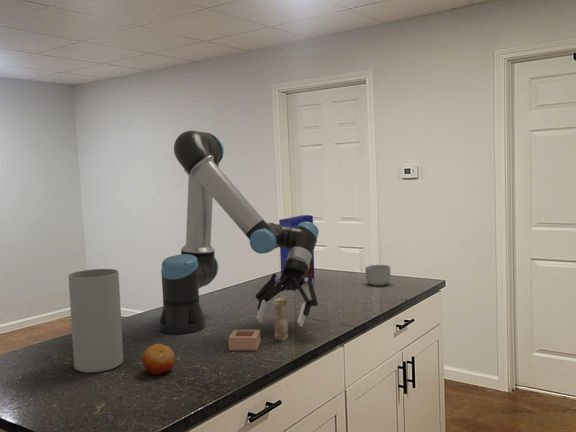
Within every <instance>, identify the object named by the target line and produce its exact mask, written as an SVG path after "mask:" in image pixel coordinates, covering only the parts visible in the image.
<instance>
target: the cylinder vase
mask: <svg viewBox="0 0 576 432" xmlns="http://www.w3.org/2000/svg"><path fill="white" fill-rule="evenodd" d="M119 272H120V271H119V270H118V269H112V268H95V269H94V268H93V269H86V270H80V271H75V272H71V273H69V274H68V288H69V289H68V291H69V292H68V293H69V303H70V305H69V306H70V321H71V322H70V323H71V337H72V353H73V355H72V356H73V367H74V369H75V371H78V372H80V373H81V372H82V373H87V374H91V373H92V374H93V373H94V374H95V373H101V372H107V371H110V370H114V369H115V368H117V367H118V366H120V365H121V364H122V363H123V362H124V350H123V347H124V346H123V333H122V332H123V331H122V329H123V328H122V327H123V326H122V312H121V308H122V307H121V296H120V295H121V294H120V276H119V274H120V273H119Z"/></svg>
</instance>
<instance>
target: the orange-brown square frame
mask: <svg viewBox="0 0 576 432" xmlns="http://www.w3.org/2000/svg"><path fill="white" fill-rule="evenodd" d="M260 344H261V329H233V330H232V332H231V333H230V335H229V336H228V351H257V350H258V348H259V346H260Z"/></svg>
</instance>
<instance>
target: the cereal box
mask: <svg viewBox="0 0 576 432" xmlns="http://www.w3.org/2000/svg"><path fill="white" fill-rule="evenodd" d="M278 221H279V225H284V226H289V227H297V226H298V225H299V224H300V223H301V222H310V223H313V224H314V216H313V215H310V214H301V215H297V216H291V217H287V218H281V219H278ZM279 249H280V250H279V251H280V252H279V256H280V258H279V259H280V276H281V275H282V274H283V269H284V266H285V263H286V261H287V257H288V254H289V251H290V249H287V248H281V247H279ZM314 251H315V250H314ZM314 251H313V254H312V258H311V261H310V264H309V267H308V271H307V275H306V277H305V278H308V277H309V276H312V278H313V280H314V281H315V257H314V256H315V253H314ZM305 284H307V283H306V282H305V283H304V284H303V285H305ZM281 287H283V285H281Z"/></svg>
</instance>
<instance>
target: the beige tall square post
mask: <svg viewBox="0 0 576 432" xmlns="http://www.w3.org/2000/svg"><path fill="white" fill-rule="evenodd" d="M273 322H274V325H273V326H274V328H273V329H274V340H275V341H276V340H279V341H286V339H288V337H289V330H288V329H289V328H288V326H289V324H288V299H287V298H285V297H278V298H275V299H273Z"/></svg>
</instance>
